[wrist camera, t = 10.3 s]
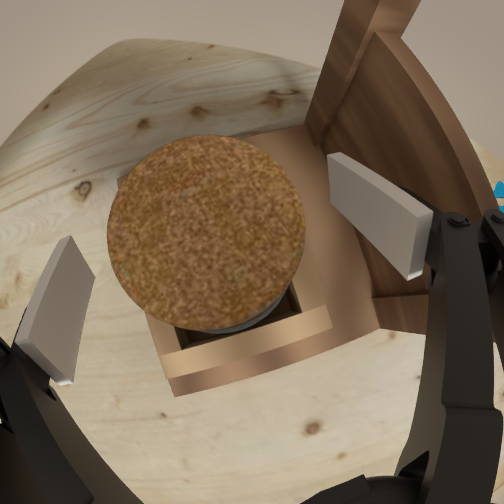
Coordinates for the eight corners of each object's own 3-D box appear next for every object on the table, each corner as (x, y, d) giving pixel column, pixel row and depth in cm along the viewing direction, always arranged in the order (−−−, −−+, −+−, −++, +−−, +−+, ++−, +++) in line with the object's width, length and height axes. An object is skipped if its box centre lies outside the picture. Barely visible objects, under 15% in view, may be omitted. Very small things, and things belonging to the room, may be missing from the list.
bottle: (197, 327, 21) (110, 375, 6) (179, 248, 21) (81, 149, 7) (276, 308, 21) (359, 318, 6) (256, 230, 22) (290, 99, 7)
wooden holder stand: (177, 393, 21) (41, 565, 2) (121, 183, 23) (-15, 24, 5) (399, 316, 22) (611, 311, 3) (326, 125, 25) (404, -53, 6)
